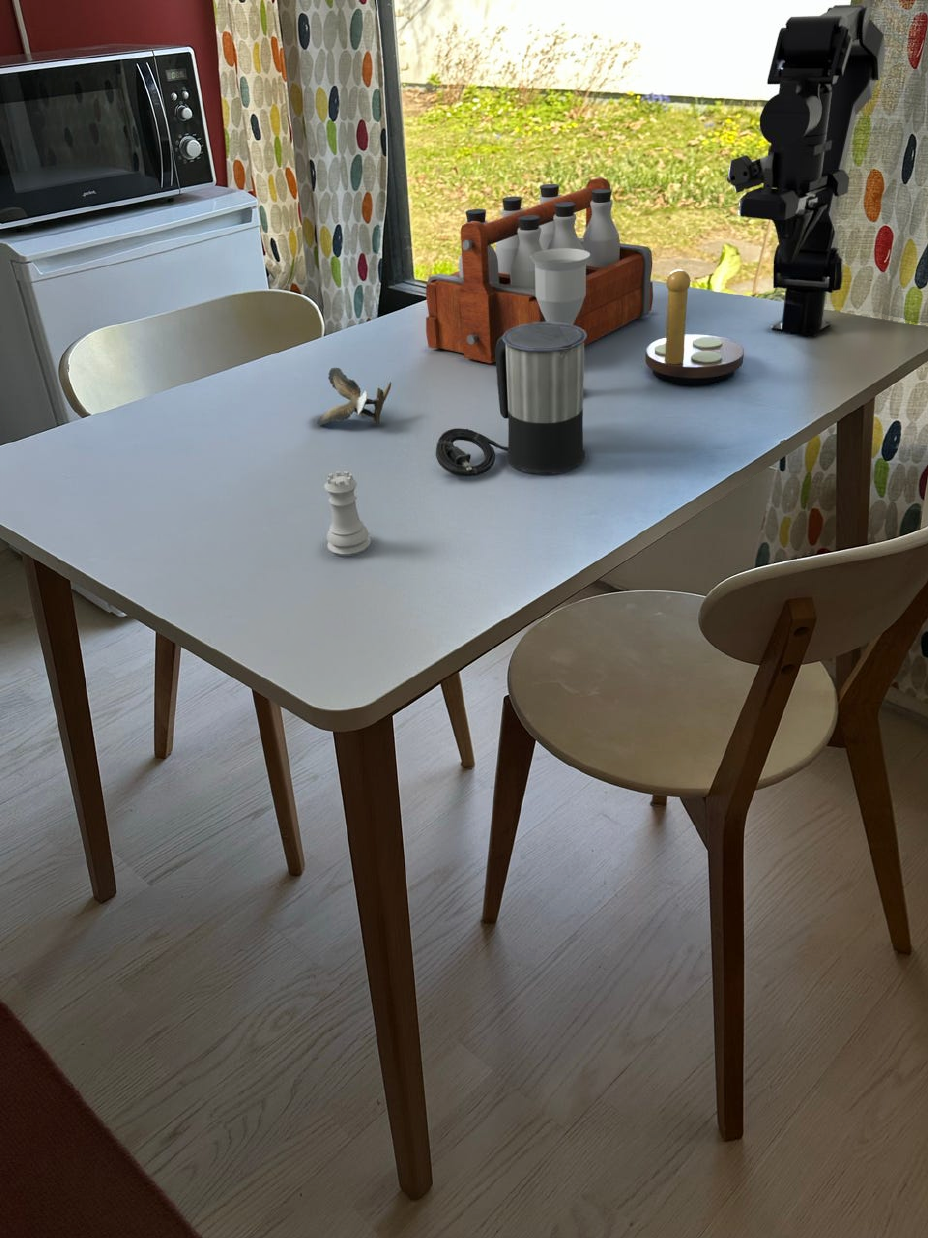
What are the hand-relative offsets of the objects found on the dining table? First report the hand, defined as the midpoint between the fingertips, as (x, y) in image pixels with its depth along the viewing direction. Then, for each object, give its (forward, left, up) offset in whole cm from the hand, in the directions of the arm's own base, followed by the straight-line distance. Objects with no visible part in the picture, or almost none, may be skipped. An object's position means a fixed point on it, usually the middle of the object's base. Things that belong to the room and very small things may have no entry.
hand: (787, 262), depth 136 cm
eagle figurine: (+49, -34, -13) cm, 61 cm away
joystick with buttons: (+10, -7, -12) cm, 17 cm away
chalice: (+27, -17, -13) cm, 35 cm away
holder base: (+10, -7, -13) cm, 18 cm away
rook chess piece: (+72, -10, -13) cm, 74 cm away
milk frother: (+47, -9, -13) cm, 50 cm away
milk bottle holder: (+8, -35, -13) cm, 38 cm away
